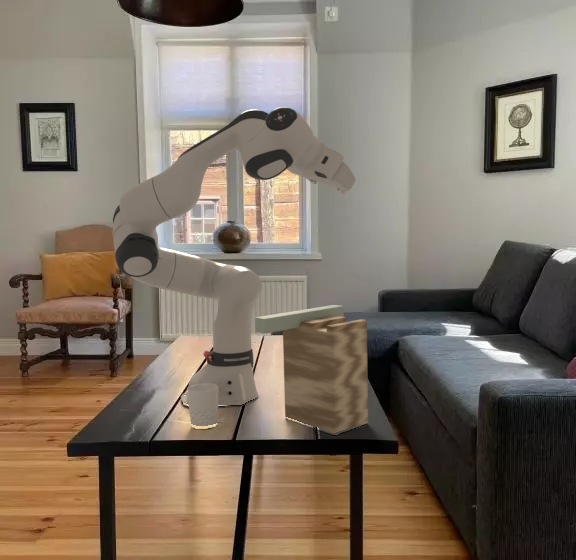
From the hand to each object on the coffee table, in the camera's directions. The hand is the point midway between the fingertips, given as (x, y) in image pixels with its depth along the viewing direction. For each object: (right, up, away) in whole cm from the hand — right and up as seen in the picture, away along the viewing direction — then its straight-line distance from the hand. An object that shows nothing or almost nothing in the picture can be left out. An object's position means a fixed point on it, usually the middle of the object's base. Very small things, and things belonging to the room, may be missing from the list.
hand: (329, 186), depth 163 cm
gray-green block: (-7, -36, -6) cm, 37 cm away
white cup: (-32, -62, -5) cm, 70 cm away
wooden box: (-1, -61, -4) cm, 61 cm away
